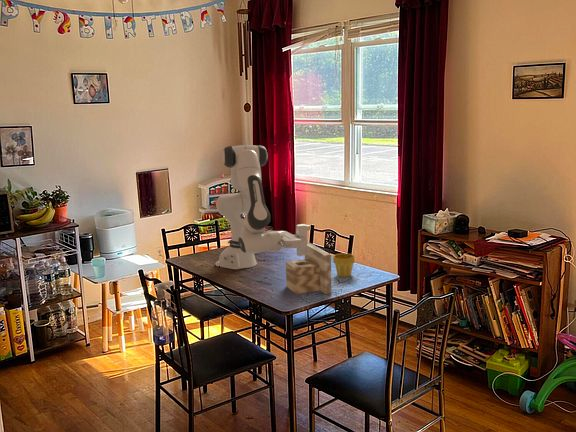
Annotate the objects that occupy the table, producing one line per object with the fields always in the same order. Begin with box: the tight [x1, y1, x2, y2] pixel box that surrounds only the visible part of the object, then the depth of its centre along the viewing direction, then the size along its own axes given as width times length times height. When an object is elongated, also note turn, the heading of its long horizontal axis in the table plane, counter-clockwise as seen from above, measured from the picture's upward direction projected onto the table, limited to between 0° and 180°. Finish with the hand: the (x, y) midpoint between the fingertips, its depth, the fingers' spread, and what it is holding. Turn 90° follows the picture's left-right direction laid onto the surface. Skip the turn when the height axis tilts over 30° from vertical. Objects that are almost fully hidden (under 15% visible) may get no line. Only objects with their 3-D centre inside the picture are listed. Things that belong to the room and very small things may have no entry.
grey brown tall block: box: [295, 223, 311, 257], centre depth 263 cm, size 6×3×14 cm, turn 110°
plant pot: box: [333, 252, 355, 278], centre depth 285 cm, size 10×10×10 cm
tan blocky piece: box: [285, 242, 333, 295], centre depth 266 cm, size 15×24×18 cm, turn 20°
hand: (303, 237), depth 263 cm, fingers closed on grey brown tall block, 3 cm apart
